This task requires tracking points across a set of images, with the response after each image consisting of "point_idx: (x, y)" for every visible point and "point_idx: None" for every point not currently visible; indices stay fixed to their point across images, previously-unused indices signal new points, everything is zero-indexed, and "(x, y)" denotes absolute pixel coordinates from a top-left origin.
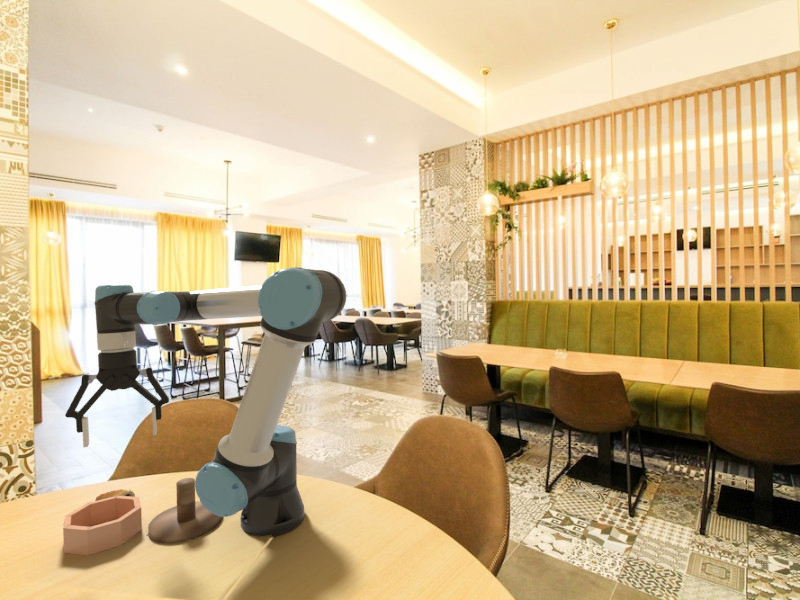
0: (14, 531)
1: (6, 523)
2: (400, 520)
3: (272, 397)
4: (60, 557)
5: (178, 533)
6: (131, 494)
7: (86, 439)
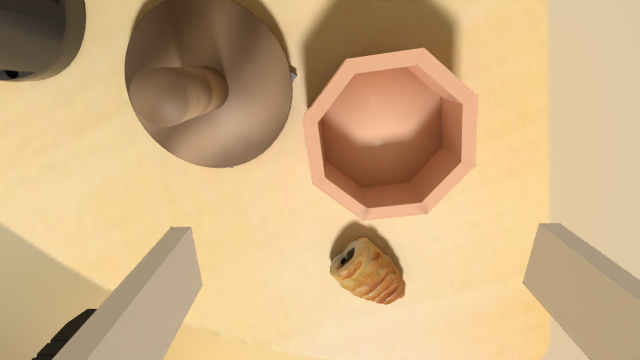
0: None
1: None
2: None
3: None
4: None
5: (219, 14)
6: (336, 269)
7: (577, 250)
